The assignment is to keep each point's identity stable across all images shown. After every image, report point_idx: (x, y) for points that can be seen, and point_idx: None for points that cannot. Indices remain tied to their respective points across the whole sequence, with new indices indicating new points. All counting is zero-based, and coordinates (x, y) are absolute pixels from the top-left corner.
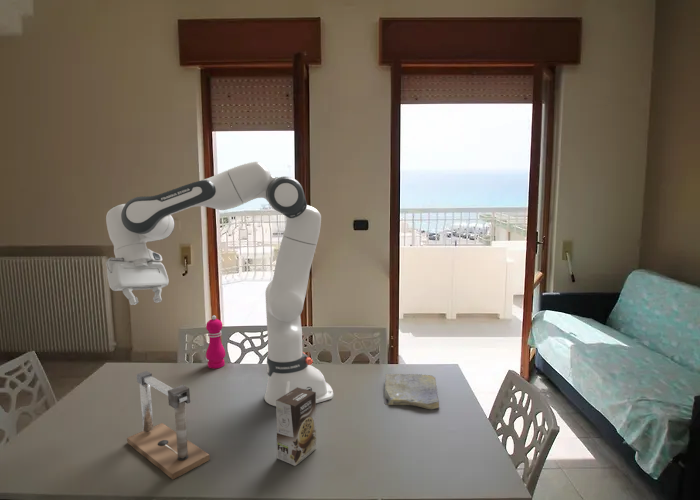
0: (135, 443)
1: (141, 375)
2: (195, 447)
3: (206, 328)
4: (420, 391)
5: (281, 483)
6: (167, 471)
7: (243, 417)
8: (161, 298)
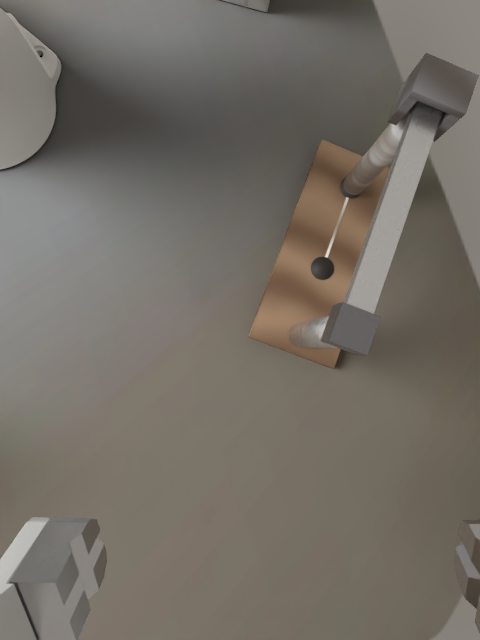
0: None
1: (369, 327)
2: (310, 185)
3: None
4: None
5: None
6: None
7: (135, 168)
8: (18, 535)
